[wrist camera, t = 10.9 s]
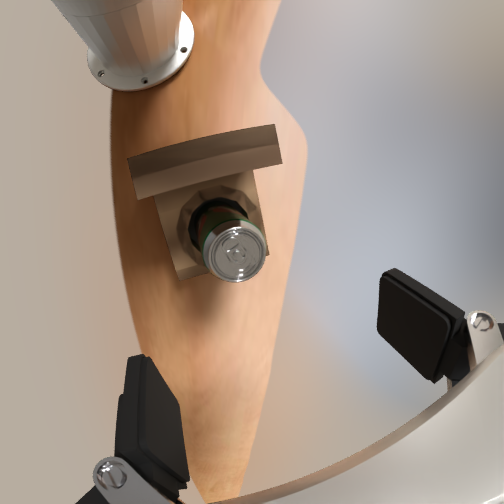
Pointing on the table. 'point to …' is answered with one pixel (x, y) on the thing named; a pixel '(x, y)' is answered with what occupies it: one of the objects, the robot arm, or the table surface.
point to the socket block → (203, 185)
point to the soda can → (229, 242)
